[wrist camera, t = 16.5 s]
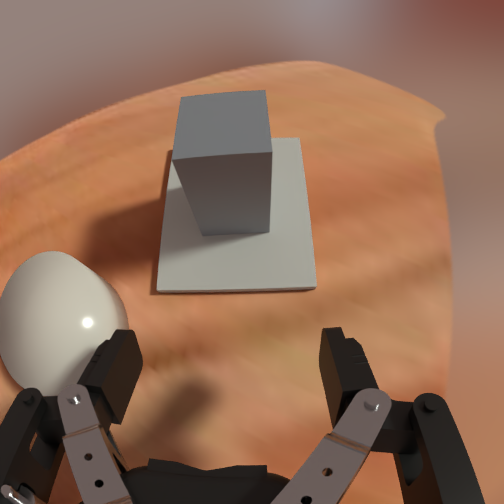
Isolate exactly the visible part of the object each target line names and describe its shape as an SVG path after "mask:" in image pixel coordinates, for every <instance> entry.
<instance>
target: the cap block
mask: <svg viewBox="0 0 504 504" xmlns="http://www.w3.org/2000/svg"><path fill="white" fill-rule="evenodd" d="M272 155H273V151H272V142H271V134H270V125H269V117H268V108H267V100H266V92H265V90H258V91H239V92H225V93H214V94H204V95H195V96H187V97H181V101H180V107H179V113H178V119H177V125H176V132H175V138H174V145H173V153H172V162H173V165H174V167H175V170H176V172H177V175H178V178H179V180H180V183H181V185H182V188H183V190H184V193H185V195H186V198H187V200H188V203H189V205H190V208H191V210H192V212H193V215H194V217H195V220H196V222H197V225H198V227H199V230H200V232H201V234H202V236H212V235H229V234H247V233H265V232H270V209H271V183H272Z"/></svg>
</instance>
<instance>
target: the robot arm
mask: <svg viewBox="0 0 504 504" xmlns="http://www.w3.org/2000/svg"><path fill="white" fill-rule="evenodd" d="M93 355H94V356H92V358H91V359H90V362H89V363H88V364H87V366H86V368H85V370H84V371H83V373H82V375H81V377H80V378H79V380H78V382H77V384H73V385H69V386H67V387H65V388H64V389H62V390H61V392H60V393H59V395H58V396H46V397H43V395H42V394H41V392H40V391H39V390H38V389H37V388H26V389H24V390H22V391H21V392H20V393H19V394H18V395H17V397H16V398H15V400H14V402H13V404H12V405H11V407H10V409H9V411H8V412H7V414H6V416H5V418H4V420H3V422H2V424H1V425H0V504H47V503H48V500H49V497H50V494H51V490H52V487H53V484H54V481H55V478H56V475H57V472H58V469H59V466H60V463H61V460H62V458H63V455H64V452H65V450H66V453H67V457H68V460H69V463H70V466H71V469H72V472H73V475H74V478H75V481H76V484H77V486H78V489H79V492H80V494H81V497H82V500H83V501H82V502H80V503H79V504H339V503H340V501H341V500H342V498H343V497H344V495H345V494H346V492H347V490H348V489H349V487H350V485H351V484H352V482H353V481H354V479H355V477H356V476H357V474H358V472H359V471H360V469H361V467H362V466H363V464H364V462H365V460H366V459H367V457H368V455H369V453H370V451H374V452H386V453H393V456H394V460H395V464H396V469H397V473H398V477H399V482H400V486H401V491H402V496H403V501H404V504H485V502H484V499H483V496H482V493H481V489H480V487H479V484H478V481H477V478H476V475H475V472H474V469H473V467H472V464H471V461H470V459H469V456H468V453H467V451H466V448H465V446H464V443H463V441H462V438H461V436H460V433H459V431H458V428H457V426H456V424H455V422H454V419H453V417H452V415H451V412H450V410H449V408H448V406H447V403H446V402H445V400H444V399H443V398H442V397H440V396H439V395H436V394H433V393H424V394H421V395H419V396H418V397H417V398H416V399H415V400H414V402H403V401H395V400H392V399H390V397H389V396H388V395H387V394H386V393H385V392H383V391H382V390H379V388H378V385H377V383H376V380H375V378H374V375H373V373H372V370H371V368H370V365H369V363H368V360H367V358H366V356H365V353H364V351H363V348H362V346H361V345H360V344H359V343H358V342H357V341H356V340H355V339H354V338H346V339H345V336H344V334H343V331H342V329H341V327H334V328H323V329H322V335H321V344H320V353H319V368H320V373H321V377H322V382H323V386H324V390H325V395H326V399H327V404H328V409H329V413H330V418H331V423H332V427H333V431H332V432H331V433H330V434H329V433H328V434H326V435H325V436H324V438H323V439H322V440H321V442H320V443H319V444H318V446H317V447H316V448H315V450H314V451H313V452H312V454H311V455H310V456H309V458H308V459H307V460H306V462H305V463H304V464H303V465H302V467H301V468H300V469H299V470H298V472H297V473H296V474H295V475H294V477H293V478H292V479H291V480H290V479H288V478H285V477H283V476H280V475H277V474H274V473H268V472H267V465H236V466H231V467H226V468H220V469H214V470H207V471H206V470H201V469H197V468H194V467H191V466H188V465H184V464H181V463H178V462H173V461H164V460H157V459H150V458H149V462H148V466H142V467H137V468H134V469H131V470H130V469H129V467H128V466H127V464H126V462H125V460H124V458H123V456H122V454H121V452H120V450H119V448H118V446H117V444H116V442H115V439H114V437H113V435H112V433H111V431H110V429H109V428H110V425H111V423H114V424H120V425H121V423H122V420H123V418H124V415H125V412H126V409H127V407H128V404H129V401H130V399H131V396H132V393H133V391H134V388H135V386H136V383H137V381H138V378H139V375H140V373H141V370H142V366H143V359H142V354H141V351H140V348H139V345H138V342H137V338H136V335H135V332H134V331H133V330H125V329H116V330H115V331H114V333H113V335H112V337H111V338H110V340H107V339H106V340H105V341H104V342H103V343H101V344H100V345H99V346H98V347H97V349H96V351H95V352H94V354H93ZM35 432H36V433H37V434H38V435H37V438H36V440H35V442H34V445H33V447H32V449H31V452H30V450H29V446H30V443H31V441H32V439H33V436H34V434H35Z"/></svg>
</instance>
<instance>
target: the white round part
mask: <svg viewBox="0 0 504 504" xmlns="http://www.w3.org/2000/svg"><path fill="white" fill-rule="evenodd" d="M116 329H125V330H129V324H128V318H127V313H126V310H125V307H124V304H123V302H122V300H121V298H120V296H119V294H118V293H117V291H116V290H115V289H114V288H113V287H112V285H111V284H110V283H108V282H107V281H106V280H105V279H103V278H102V277H100V276H99V275H98V274H96V273H95V272H93V271H92V270H90V269H89V268H88V267H86V266H85V265H83V264H82V263H81V262H79V261H78V260H76V259H75V258H73V257H72V256H70V255H68V254H66V253H62V252H58V251H48V252H43V253H39V254H37V255H35V256H33V257H31V258H29V259H28V260H26V261H25V262H24V263H23V264H21V265H20V266H19V267H18V269H17V270H16V271H15V272H14V273H13V275H12V276H11V277H10V279H9V281H8V282H7V284H6V286H5V288H4V291H3V293H2V296H1V299H0V355H1V358H2V360H3V362H4V365H5V367H6V368H7V370H8V372H9V373H10V375H11V376H12V378H13V379H14V380H15V381H16V382H17V383H18V384H19V385H20V386H21V387H23V388H24V389H26V388H37V389H38V390H39V391H40V392H41V394H42V395H43V396H58V395H59V393H60V392H61V390H62V389H64V388H65V387H67V386H69V385H73V384H77V382H78V380H79V378H80V377H81V375H82V373H83V371H84V370H85V368H86V366H87V364H88V363H89V362H90V359H91V358H92V356H94V355H93V354H94V352H95V351H96V349H97V347H98V346H99V345H100V344H101V343H103V342H104V341H105V340H106V339H107V340H110V338H111V337H112V335H113V333H114V331H115V330H116Z"/></svg>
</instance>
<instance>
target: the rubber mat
mask: <svg viewBox="0 0 504 504" xmlns="http://www.w3.org/2000/svg"><path fill="white" fill-rule="evenodd" d="M271 142H272V151H273V155H272V183H271V209H270V232H265V233H247V234H229V235H212V236H202V234H201V232H200V230H199V227H198V225H197V222H196V220H195V217H194V215H193V212H192V210H191V208H190V205H189V203H188V200H187V198H186V195H185V193H184V190H183V188H182V185H181V183H180V180H179V178H178V175H177V172H176V170H175V167H174V165H173V162H172V160H171V166H170V173H169V180H168V187H167V194H166V201H165V209H164V217H163V226H162V235H161V245H160V255H159V266H158V279H157V291H158V292H159V293H180V292H245V291H279V290H304V289H316V287H317V283H316V272H315V261H314V250H313V241H312V231H311V222H310V214H309V205H308V197H307V189H306V181H305V174H304V167H303V160H302V153H301V146H300V140H299V138H271Z"/></svg>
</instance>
